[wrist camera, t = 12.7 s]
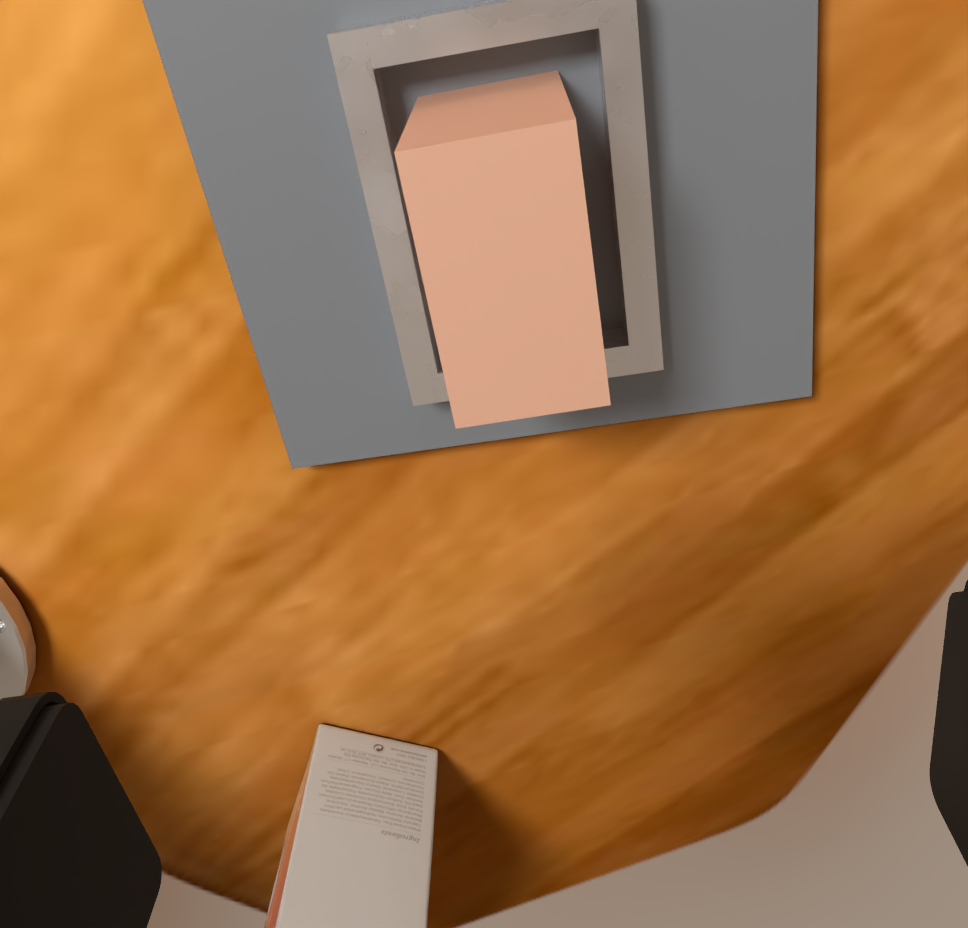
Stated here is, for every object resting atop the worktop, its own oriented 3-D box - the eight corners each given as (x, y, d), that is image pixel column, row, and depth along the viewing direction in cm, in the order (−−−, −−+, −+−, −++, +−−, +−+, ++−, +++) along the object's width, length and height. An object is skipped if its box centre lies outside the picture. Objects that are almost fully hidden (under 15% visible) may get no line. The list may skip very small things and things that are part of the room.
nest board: (297, 454, 34) (283, 491, 31) (142, -41, 25) (109, -37, 23) (803, 383, 32) (825, 417, 30) (809, -174, 24) (840, -181, 22)
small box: (319, 717, 40) (268, 949, 31) (442, 746, 41) (426, 980, 32) (283, 830, 44) (228, 1066, 35) (395, 855, 45) (370, 1090, 36)
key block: (418, 97, 26) (394, 152, 20) (557, 70, 26) (575, 118, 20) (464, 324, 30) (455, 428, 24) (587, 303, 29) (611, 405, 23)
